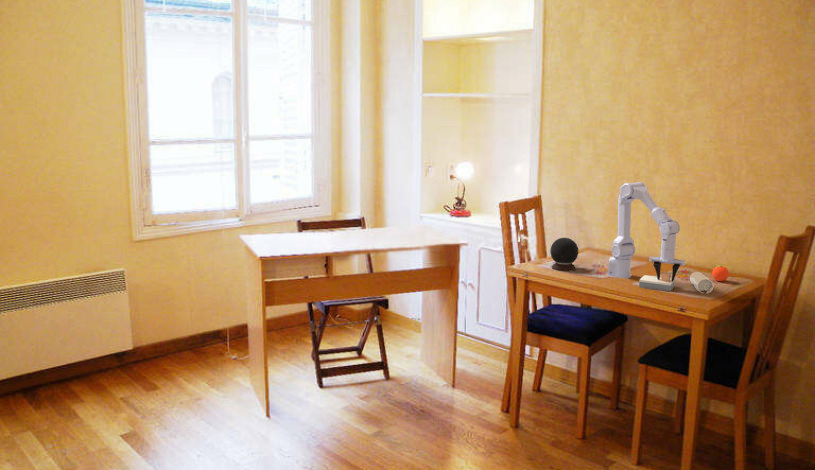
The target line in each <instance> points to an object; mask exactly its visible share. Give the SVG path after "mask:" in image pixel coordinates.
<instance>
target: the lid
mask: <svg viewBox="0 0 815 470" xmlns="http://www.w3.org/2000/svg"><path fill="white" fill-rule="evenodd" d="M671 276H672V273H671V272H668V271H663V272H662V273H661V276H660V279H659V280H658V279H657V275H656V276H655V275H645V274H644V275H643V276H641V277H640V279H639V280H638V281H639V282H647V283H655V284H662V285H670V286H671V285H672V283H673V282H674V281H675V280H676V278H674V281H672V277H671ZM639 282H638V283H639ZM675 282H676V281H675Z"/></svg>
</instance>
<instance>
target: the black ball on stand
mask: <svg viewBox="0 0 815 470" xmlns="http://www.w3.org/2000/svg"><path fill="white" fill-rule="evenodd" d="M549 253H550V256H551V259H552V260H553V261H554V263H553V264H552V265H551V269H552V270H553V271H554V270H555V271H558V272H572V271H573V272H574V271H575V270H576V266H575V264H573V263H574V262H575V261H576V260H577V259H578V257H579V247H578V245H577V243H576V241H574V240H573V239H572V238H569V237H559V238H557V239H556V240H554V241H553V242H552V244H551V246H550V250H549Z"/></svg>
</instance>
